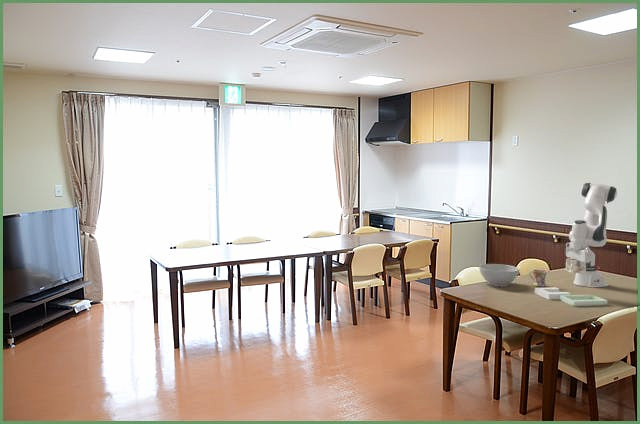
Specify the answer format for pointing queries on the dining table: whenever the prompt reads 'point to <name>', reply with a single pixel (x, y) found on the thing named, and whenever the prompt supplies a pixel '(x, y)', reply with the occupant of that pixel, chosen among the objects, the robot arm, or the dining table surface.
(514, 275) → the decorative bowl
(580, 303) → the tray
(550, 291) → the stand
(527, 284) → the dining table surface
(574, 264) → the caddy
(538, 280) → the mug
